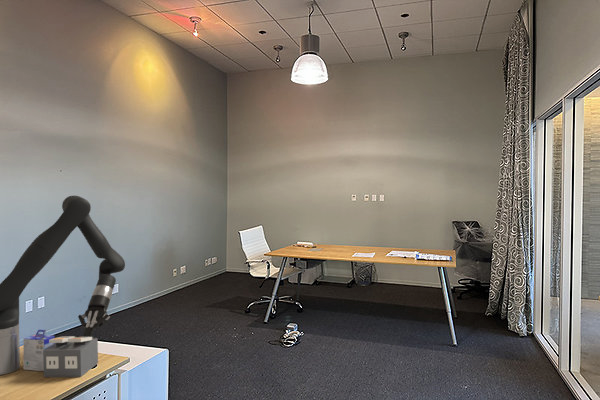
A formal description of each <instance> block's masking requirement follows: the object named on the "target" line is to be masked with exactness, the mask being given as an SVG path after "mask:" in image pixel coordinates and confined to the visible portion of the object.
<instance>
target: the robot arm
mask: <svg viewBox="0 0 600 400" xmlns="http://www.w3.org/2000/svg"><path fill="white" fill-rule="evenodd" d="M61 208H62V213H61V215H60V216H59V217H58V219H57V220H56V221H55V222H54V223H53V224H52V225H51V226H49V228H47V229H45V230H43V232H41V233H40V234H38V236H36V237H35V238H34V239H33V241H32V242H31V244H30V245H29V246H28V247H27V248H26V249H25V251H24V252H23V253H22V255H21V256H20V257H19V259H18V261H17V262H16V264H15V265H14V267H13V268H12V271H10V273H9V274H8V275H7V276H6V277H5V278H4V279H3V280H2V282H0V375H1V376H2V375H7V374H10V373H13V372H15V371H17V370H19V369H20V368H21V356H20V355H21V353H20V352H21V350H20V349H21V348H20V345H21V344H20V296H21V294H22V293H23V292H24V290H25V288H27V286H28V285H29V283H30V282H31V281H32V280H33V279H34V278H35V277H36V276H37V275H38V273H39V274H40V272H41V271H42V270H43V269H44V268H45V266H46V265H47V264H48V263H49V262H50V261H51V260H52V259H53V257H54V256H55V254H56V253H57V252H58V250H59V249H60V248H61V247H62V246H63V244H64V243H65V242H66V241H67V239H68V238H69V236H70V235H71V234H72V232H73V231H74V230H75V229H76V228H78V230H79V231H80V232H81V233H82V235H83V237H84V239H85V240H86V242H87V244H88V246H89V247H90V249H91V250H92V251H93V253H94V255H95V256H96V257H97V258H98V259H103V260H102V261H101V262H100V263H99V267H98V280H97V283H96V285H95V288H94V289H93V291H92V295H91V297H90V299H89V302H88V304H87V309H86V310H85V312H84V313H83V314H79V315H78V316H77V318H78V320H79V322H80V324H81V326H82V328H84V332H83V337H92V338H93V335H94V331H95V330H96V329H100V328H101V327H103V325H105V324H106V323H107V322H108V321H109V320H110V319H111V316H110V315H109V314H108V312H107V310H108V308H109V305H110V303H111V300H112V297H113V291H114V288H115V285H116V282H117V279H116V276H113V275H112V274H115V273H116V274H117V273H121V272H122V271H124V270H125V267H126V261H125V260H124V258H123V257H122V256H121V254H120V253H119V252H117V251H116V250H115V249H114V248H113V247H112V246H111V244H110V242H109V241H108V240H107V237H106V236H105V235H104V233H103V232H102V231H101V230H100V229H99V227H98V226H97V225H96V224H95V222H94V221H93V219H92V217H91V216H90V212H91V208H92V207H91V203H90V202H89V201H88V200H87V199H85V198H84V197H82V196H78V195H69V196H67V197H66V198H64V200H63V201H62V204H61Z"/></svg>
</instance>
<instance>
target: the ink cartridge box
mask: <svg viewBox="0 0 600 400" xmlns="http://www.w3.org/2000/svg"><path fill="white" fill-rule="evenodd" d="M46 331H47V330H46V329H38V330H37V332H36V333H35V334H32V335H30V336H27V337H25V338H23V340H22V342H23V344H22V345H23V348H22V349H23V355H22V356H23V361H22V362H23V363H22V364H23V366H22V367H23V370H25V371H27V370H28V371H36V372H37V371H38V372H44V365H43V350H45V349H46V348H48V347H50V346H51V345H53V344H55V343H49V340H50V339H54V338H55V335H47V334H46ZM41 332H42V333H41Z"/></svg>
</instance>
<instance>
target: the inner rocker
mask: <svg viewBox="0 0 600 400" xmlns="http://www.w3.org/2000/svg"><path fill="white" fill-rule="evenodd" d="M70 338H76V336H75V335H73V336H72V335H71V336H70V335H68V336H66V335H64V336H59V337H54V339H50V340H49V343H54V344H55V343H64V342H67V341H68V339H70Z"/></svg>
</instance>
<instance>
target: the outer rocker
mask: <svg viewBox="0 0 600 400" xmlns="http://www.w3.org/2000/svg"><path fill="white" fill-rule="evenodd" d="M92 338H93V336H92V337H84V336H78V337H77V336H75V338H70V339H68V342H84V341H90V340H92Z"/></svg>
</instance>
